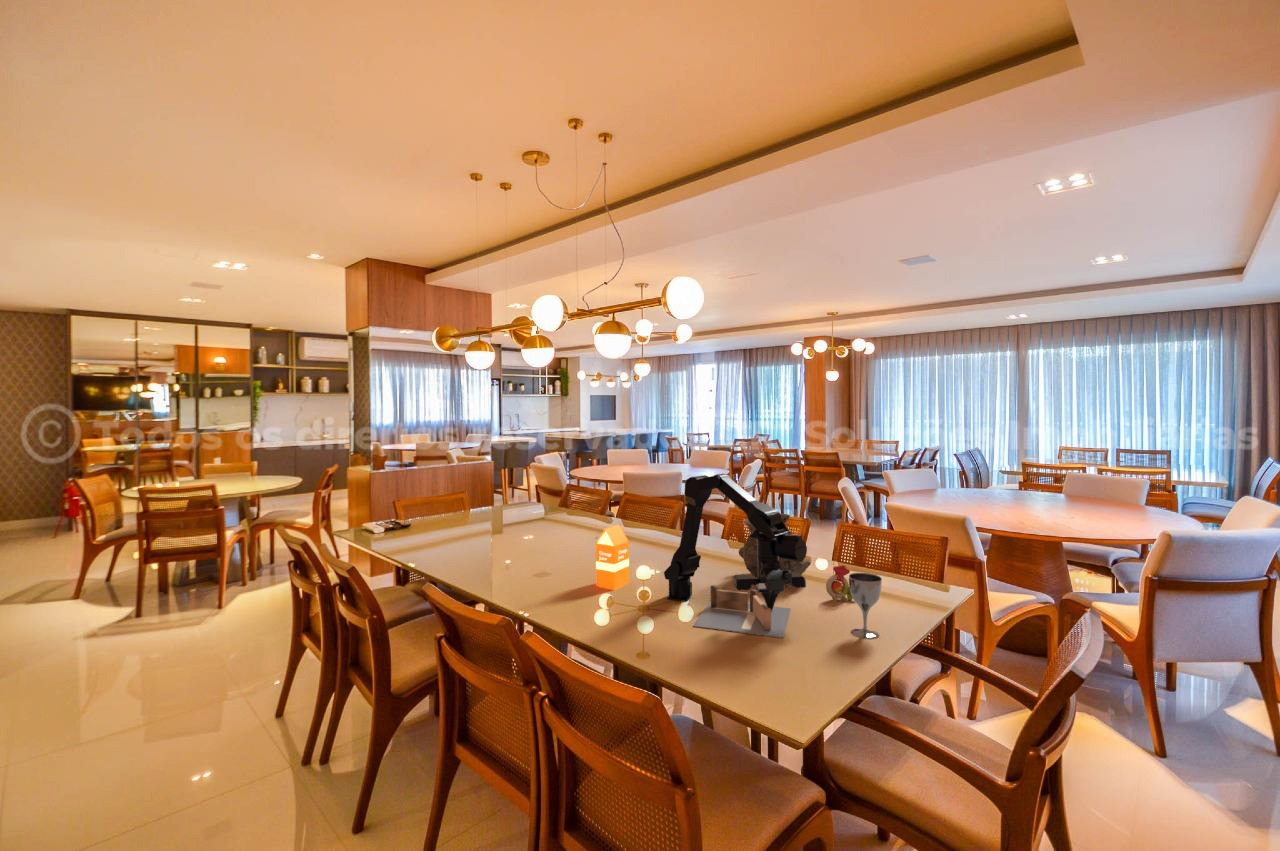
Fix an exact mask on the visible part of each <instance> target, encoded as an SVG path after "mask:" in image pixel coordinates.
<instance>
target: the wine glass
mask: <svg viewBox="0 0 1280 851" xmlns="http://www.w3.org/2000/svg"><path fill="white" fill-rule="evenodd" d="M848 577H849V578H848V584H849V587H850V592H851V596H852V598H853V599H852V600H853V601H854V602H855V603H856V605H858V607H859V608H860V609H861V613H862V620H863V627H856V628H853V629H851V630H850V634H851V635H853V636H855V637H856V638H860V639H865V640H875V639H878V638H880V633H879V632H877V631H876V630H874V629H870V628H867V627H868V626H867V624H868V623H867V621H868V615H869V612H870V610H871V609H872V607H873V606H874V605H875V604H877V602H878V601H879V600H880V598H881V593H882V577H881V576H880V575H878V574H873V573H870V572H869V573H868V572H852V573H849V575H848Z"/></svg>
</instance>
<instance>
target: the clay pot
mask: <svg viewBox="0 0 1280 851" xmlns="http://www.w3.org/2000/svg"><path fill="white" fill-rule="evenodd" d="M780 514H781V519H782V520H783V522H784V524H785V525H786V523H787V522H788V521H789V519H791V518H790V517H791V515H790V514H788V513H787V514H786V513H780ZM743 523H744V524H745V526H746V527H747V529H748V530H749V533H750V534H749V535H748V536H747V539H746V541H745V542H744V544H743V546H742V547H741V548H739V550H738V554H739V557H741V558H742V559H743V562H744V564H745V568H746V569H747V571H748V572H749V573H750V574H751V575H753V576H754V578H758V561H757V557H758V556H757V539H756V538H751V537H750V535H751V534H752V533H753V532H754V531H755V530H756V529H755V528H754V527H753V525H752V524H751V523H750V522H749V520H748V518H746V519H744V521H743ZM775 530H778V529H774V530H772V531H775ZM789 531H790V534H793V533H792V531H791V530H789ZM779 561H780V567H781V570H790V571H791V572H799V573H800V574H801V575H803V574H804V573H805V572H806V571H807V569H808V568H809V567H810V566H811V563H812V562H811V561H810V559H809V558H808V559H805V560H803V561H802V562H799V561H793V560H788V559H783V558H780V557H779Z"/></svg>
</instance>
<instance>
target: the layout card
mask: <svg viewBox="0 0 1280 851" xmlns="http://www.w3.org/2000/svg"><path fill="white" fill-rule="evenodd" d="M765 606H766V605H765ZM766 607H767V606H766ZM790 612H791V608H790V607H784V606H783V607H782V606H781V607H780V606H775V605H774V606H773V609H772V612H771V630H765V629H764V626H763V625H762V624H761V622H760V621H759V620H758V618H757V617H756V616H755V614H754V613H753V612H750V603H748V611H740V610H732V609H723V608H711V599H710V600H709V602H707V604H706V606H705V607H704V609H703V610H702V612H701V613H700V614H699V616H698V618H697V619H696V621H695V622H694V623H693V625H692V627H693V626H695V627H694V628H699V627H701V629H707V628H709V629H708V630H715V629H718V630H717V631H723V630H724V631H725V632H730V631H732V632H731V633H738V632H739V634H746V633H747V634H746V635H748V634H749V635H754V634H756V636H762V635H763V636H764V637H770V638H777V637H778V638H779V639H784V638H785V637H784V636H785V632H786V629H787V625H788V621H789V617H790ZM763 636H762V637H763Z"/></svg>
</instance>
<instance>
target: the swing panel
mask: <svg viewBox="0 0 1280 851" xmlns="http://www.w3.org/2000/svg"><path fill="white" fill-rule="evenodd" d="M753 613H754V614H755V616H756V617H757V618H758V620H759V621H760V622H761V624H762V625H763V626H764V629H765V630H771V608H767V607H766V604H765V602H763V601H762V600H761V598H760V597H759V596H758V595H757V596H753Z"/></svg>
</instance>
